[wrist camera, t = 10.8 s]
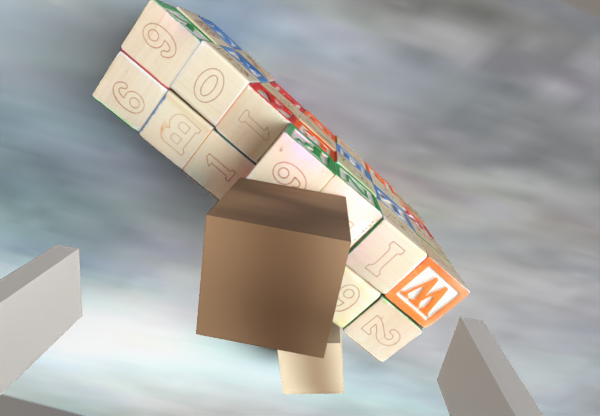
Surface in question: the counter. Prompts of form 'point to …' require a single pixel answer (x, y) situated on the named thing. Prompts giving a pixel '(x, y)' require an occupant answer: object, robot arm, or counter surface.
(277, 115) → the stack of blocks
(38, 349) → the robot arm
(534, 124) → the counter surface
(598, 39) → the counter surface
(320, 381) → the maple cube
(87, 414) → the counter surface
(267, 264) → the walnut cube
